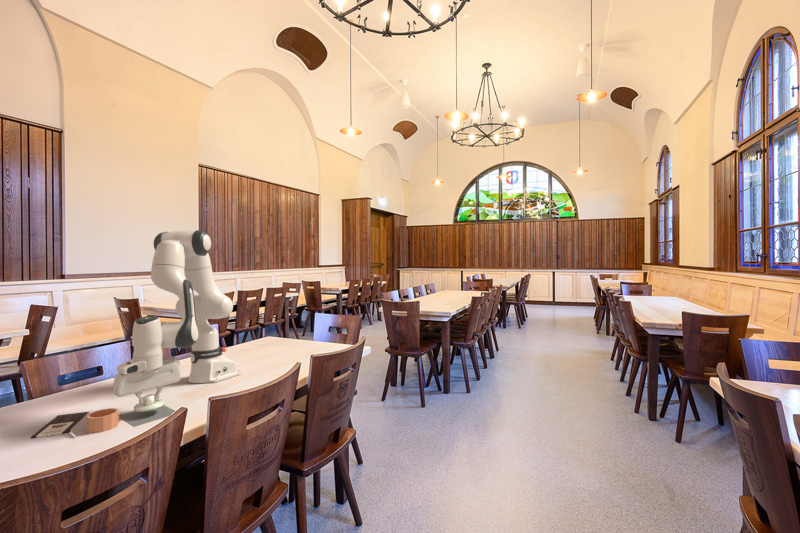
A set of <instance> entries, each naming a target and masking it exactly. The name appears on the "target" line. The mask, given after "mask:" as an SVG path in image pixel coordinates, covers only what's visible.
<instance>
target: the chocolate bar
mask: <svg viewBox="0 0 800 533" xmlns="http://www.w3.org/2000/svg"><path fill="white" fill-rule="evenodd" d="M88 414H90V411H83V412H82V411H81V412H75V413H67V414H59V415H56V416H55V417H53V419H52V420H50V421H49V422H48V423H46V424H45V425H44V426H43V427H41V428H40V429H39V430H37V432H35V433H34V434H32V436H30V439H37V437H38V438H44V437H43V436H46V437H49V436H48V435H53V436H57V435H56V434H60V435H65V433H67V434H68V433H69V432H71V429H72V428H74V427H75V426H76V425H78V423H79V422H80V421H81V420H83V418H84V417H85V416H87V415H88Z"/></svg>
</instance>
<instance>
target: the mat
mask: <svg viewBox="0 0 800 533" xmlns="http://www.w3.org/2000/svg"><path fill="white" fill-rule="evenodd" d="M175 411H176V410H175V409H172V408H171V407H169V406H167V405H166V404H165V405H164V406H162V407H160V408H158V409H155V410H151V411H145V412H137V411H134V410H131V411H126V412H124V413H119V419H121V420H122V421H124V422H125V423H127V424H128V425H130V426H132V427H133V428H136V427H138V426H141V425H144V424H148V423H152V422H155V421H158V420H162V419H165V418H169V417H171V416H170V415H171V414H172V413H173V412H175Z"/></svg>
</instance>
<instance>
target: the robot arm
mask: <svg viewBox="0 0 800 533" xmlns="http://www.w3.org/2000/svg"><path fill="white" fill-rule="evenodd" d="M153 239H154V240H153V248H154V251H155V252H154V255H153V258H152V262H151V263H152V264H151V268H150V278H151V281H152V283H153V285H154V286H156V287H157V288H159V289H161V290H163V291H166V292H169V293H170V294H174V295H175V296H177V298H178V300H177V301H176V304H175V311H176V314H177V315H178V317H179V318H181V320H180V321H161V319H160V317H159V316H157V315H146V316H140V317H139V318H137V319H135V320H134V323H133V326H132V334H131V336H132V339H131V342H132V346H133V353H132V358H131V359H128V360H127V361H125V362H123V363H121V364H119V365H117V366H116V371H117V373H116V374H115V376H114V379H113V388H112V389H113V390H112V391H113V392H112V393H113V395H115V396H116V397H118V398H120V397H125V396H129V395H133V394H134V395H135V396H136V398H138V403H140V404H143V403H146V401H145V400H146V398H144V396H141V395H142V394H143V393H142V392H143V391H148V390H151V389H156V391H155V393H153V394H154V400H157V399H160V394H161V393H162V391H163V390H164V389H163V388H164V386H167V385H171V384H175V383H178V382H179V381H180V380H181V378H182V377H181V371H180V369H181V368H180V365H181V364H180V362H181V361H180V359H179V358H177V357H176V356H175V357H170V358H163V357H164V356H163V355H164V354H163V353H164V352H163V349H165V348H166V349H168V348H171V349H172V348H178V349H189V348H191V350H190V362H191V364H190V365H191V366H190V371H189V377H188V379H187V382H189V383H190V384H208V383H209V384H212V383H214V384H215V383H218V382H222V381H224V380H227V379H230V378H234V377H236V376H239V375H241V374H242V371H241V370H240V369H237V366H236V363H235V361H234V360H233V359H231V358H229V357H227V355H225V354H223V353H226V352H227V348H226V347H220V346H219V331H218V330H217V328H216V327H214V326H213V325H211V323H210V322H209V321H208V320H219V319H220V320H221V319H225V318H228V317H229V316H230V315H231V314H232V313H233V308H234V303H233V300H232V299H231V298H230V297H229V296H227V295H226V294H224V293H223V292H222V290H220V288H219V287H218V285H217V283H216V280H215V278H214V273H213V268H212V262H211V258H210V254H209V252H210V251H211V249H212V244H213V243H212V238H211V236H210V235H209V234H208V233H207V232H206V231H204V230H200V229H199V230H198V229H197V230H189V229H183V230H174V231H164V232H160V233H158V234H157V235H156V236H155V237H154V238H153ZM194 291H195V292H196V293H197V294H198V295H197V294H196V295H194Z"/></svg>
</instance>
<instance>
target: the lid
mask: <svg viewBox="0 0 800 533" xmlns="http://www.w3.org/2000/svg"><path fill="white" fill-rule="evenodd" d="M154 394H155V393H153V394H147V395H144V396H143V397H144V398H146V400H145V401H146V403H143V404H140V403H139V402H138V403H136V404H135V405H134V406H133V411H137V412H145V411H151V410H155V409H158V408H160V407H162V406H164V405H165V406H166V401H165V400H164V399H160V398H159V399H157V400H154Z"/></svg>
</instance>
